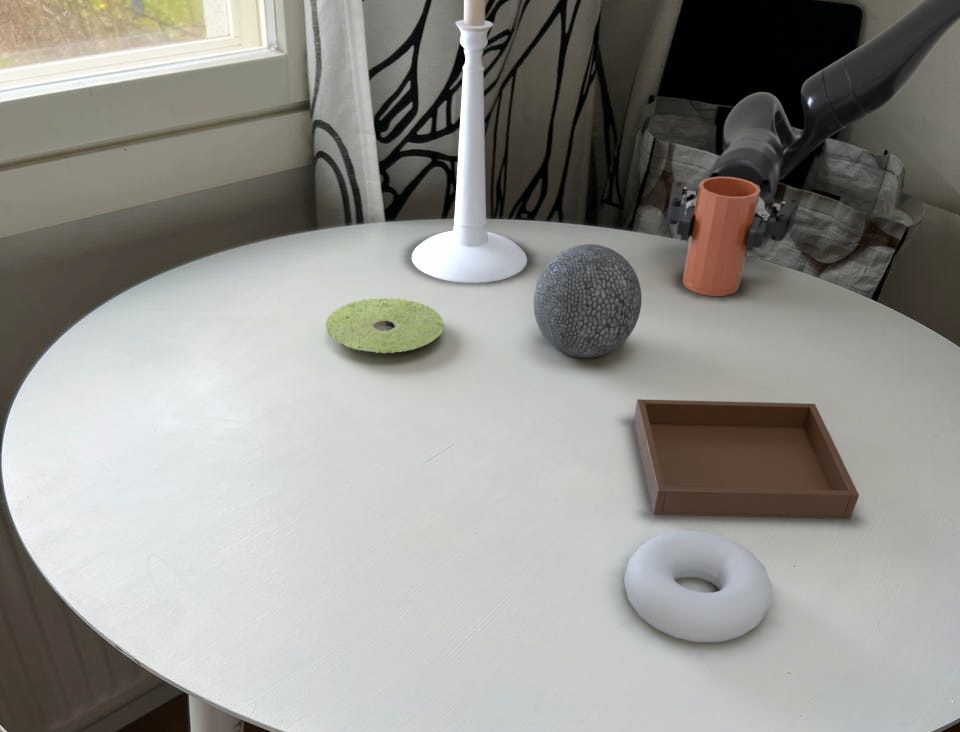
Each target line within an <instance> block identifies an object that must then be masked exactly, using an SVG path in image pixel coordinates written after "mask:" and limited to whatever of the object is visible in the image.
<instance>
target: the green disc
mask: <svg viewBox="0 0 960 732" xmlns="http://www.w3.org/2000/svg"><path fill="white" fill-rule="evenodd" d="M325 329H326V332H327V333H328V335H329V336H330V337H331V338H332V339H333V340H334V341H336V342H337V343H339V344H341V345H343V346H344V347H346V348H351V349H352V350H356V351H363V352H372V353H376V354H380V353H382V354H387V353H388V354H395V353H401V352H407V351H413V350H417V349H418V348H422V347H423V346H427V345H429V344H430V343H432V342H433V341H435V340H436V339H438V337H440V336H441V335H442V333H443V331H444V319H443V318H442V316H441V315H440V313H438V311H436V310H434V309H433V308H431V307H430V306H429V305H424V304H423V303H420V302H417V301H413V300H407V299H400V298H391V297H390V298H370V299H369V298H368V299H362V300H357V301H353V302H350V303H348V304H345V305H343V306H341V307H339V308H337V309H335V310H334V311H333V312H332V313H331V314H330V315H329V316H328V318H327V319H326V322H325Z"/></svg>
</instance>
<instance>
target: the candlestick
mask: <svg viewBox="0 0 960 732" xmlns="http://www.w3.org/2000/svg"><path fill="white" fill-rule="evenodd" d="M485 18H486V0H463V19H460V20H457V21H455V23H454V24H455V25H456V26H457V28H458V29H459V31H460V38H459V44H460V45H461V47H463V53H464V57H465V61H464V64H463V66H462V68H461V69H462V85H461V103H460V116H459V118H460V119H459V120H460V121H459V135H458V136H459V137H458V153H457V154H458V155H457V169H456V187H455V188H456V189H455V203H454V205H455V206H454V218H453V228H452V230H449V231H444V232H441V233H437V234H435V235H432V236H430V237H428V238H427V239H425V240H424V241H422V242H421V243H420V244H418V245H417V246H416V247H415V249H414V250H413V252H412V253H411V261H412V263H413V265H414V266H415V267H416V268H417V269H418V270H419V271H421V272H422V273H424V274H426V275H428V276H430V277H433V278H436V279H439V280H443V281H448V282H453V283H454V282H455V283H465V284H482V283H492V282H498V281H502V280H504V279H508V278H511V277H513V276H515V275H517V274H519V273H520V272H521V271H523V270H524V269H525V267H526V266H527V263H528V258H527V255H526V253H525V251H524V250H523V249H522V248H521V247H520V246H519V245H518V244H516V243H515V242H514V241H512V240H510V239H509V238H507V237H505V236H503V235H500V234H497V233H494V232H490V231H488V228H487V222H488V219H487V203H486V202H487V199H486V146H485V145H486V144H485V92H484V91H485V89H484V88H485V83H484V70H485V67H484V66H483V61H482V57H483V54H484V49H485V48H486V47H487V46H488V42H489V41H488V32H489V30H491V28H492V27H493V26H494V23H493V22H492V21H489V20H486V19H485Z"/></svg>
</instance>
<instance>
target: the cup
mask: <svg viewBox="0 0 960 732" xmlns="http://www.w3.org/2000/svg"><path fill="white" fill-rule="evenodd" d="M697 189H698V193H697V199H696V205H695V210H694V217H693V222H692V228H691V233H690V237H689V239H688V245H687V250H686V256H685V262H684V268H683V273H682V284H683V286H684V287H685V288H686V289H687V290H688V291H691V292H693V293H696V294H698V295H702V296H708V297H724V296H730V295H732V294H735V293H737V291H738V290H739V288H740V284H741V280H742V277H743V272H744V267H745V263H746V258H747V254H748V251H747V250H745V249H746V244H747V240H748V235H749V231H750V228H751V225H752V223H753V221H754V217H755V213H756V208H757V204H758V199H759V195H760V188H759V187H758V186H757V185H756V184H754V183H752V182H750V181H747V180H744V179H740V178H734V177H712V178H708V177H707V178H704V179H702V180H701V181H700V182H699V184H698V187H697Z"/></svg>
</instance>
